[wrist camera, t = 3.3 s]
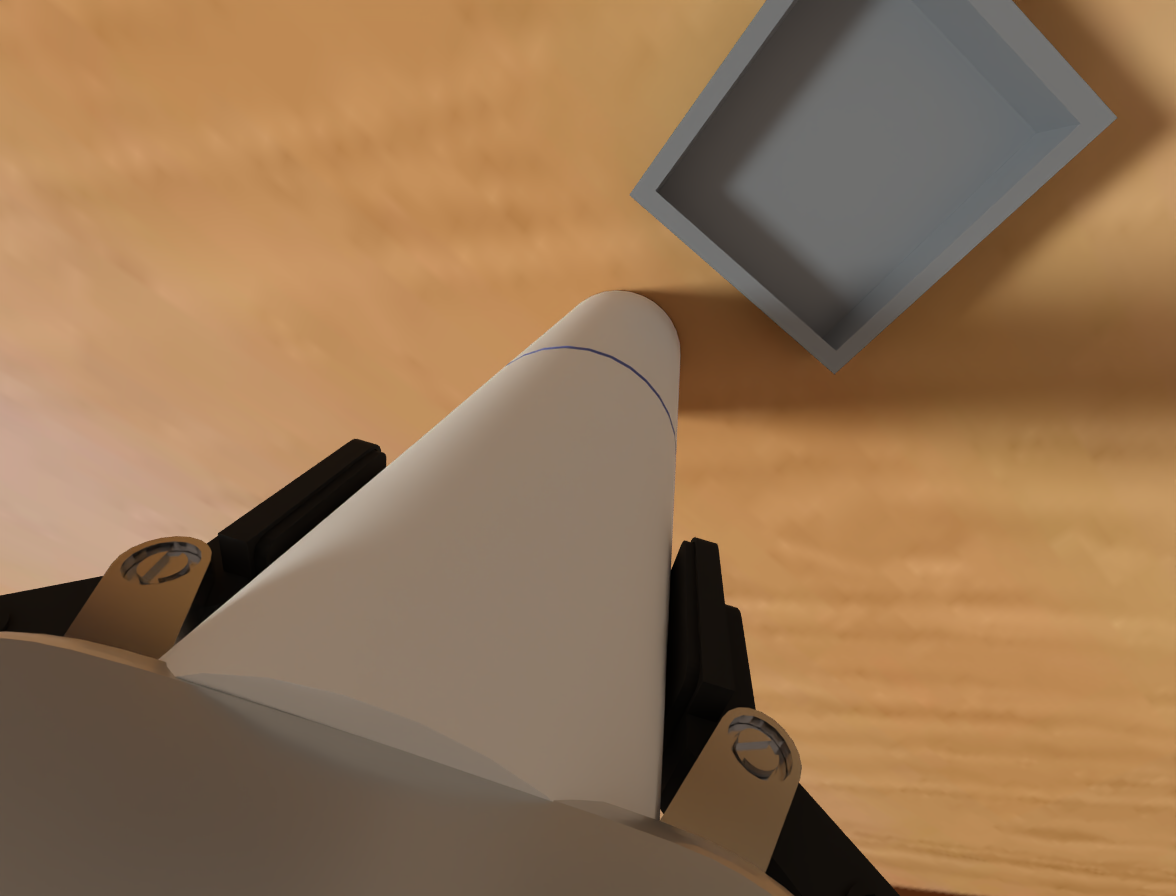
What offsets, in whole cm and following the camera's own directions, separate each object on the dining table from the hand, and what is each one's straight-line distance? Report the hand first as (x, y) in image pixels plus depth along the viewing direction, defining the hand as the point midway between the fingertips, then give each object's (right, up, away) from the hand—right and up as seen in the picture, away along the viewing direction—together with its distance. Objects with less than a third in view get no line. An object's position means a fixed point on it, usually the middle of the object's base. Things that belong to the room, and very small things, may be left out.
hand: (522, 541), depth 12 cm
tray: (+13, +15, +11) cm, 23 cm away
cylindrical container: (+3, +8, +17) cm, 19 cm away
